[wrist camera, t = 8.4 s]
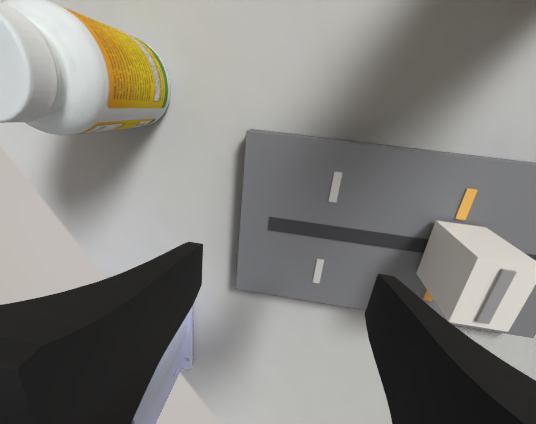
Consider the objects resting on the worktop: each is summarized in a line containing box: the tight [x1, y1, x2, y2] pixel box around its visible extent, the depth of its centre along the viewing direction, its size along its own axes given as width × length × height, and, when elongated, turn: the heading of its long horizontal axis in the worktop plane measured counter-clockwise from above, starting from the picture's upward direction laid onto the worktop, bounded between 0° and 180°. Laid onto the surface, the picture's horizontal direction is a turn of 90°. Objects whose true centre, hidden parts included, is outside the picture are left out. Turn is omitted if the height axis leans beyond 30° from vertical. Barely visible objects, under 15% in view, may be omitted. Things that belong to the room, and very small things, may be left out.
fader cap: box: [416, 220, 536, 332], centre depth 16 cm, size 4×3×5 cm
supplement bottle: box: [0, 0, 170, 135], centre depth 14 cm, size 5×5×10 cm
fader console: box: [236, 129, 536, 338], centre depth 19 cm, size 12×22×2 cm, turn 84°
